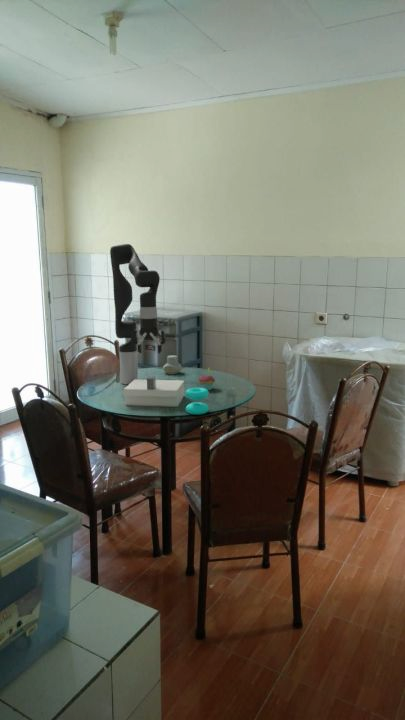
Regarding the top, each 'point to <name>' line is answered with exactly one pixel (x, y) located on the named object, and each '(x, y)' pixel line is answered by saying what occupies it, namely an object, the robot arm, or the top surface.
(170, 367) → the air freshener
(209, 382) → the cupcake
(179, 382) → the lid
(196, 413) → the donuts
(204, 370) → the top surface
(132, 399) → the mailer base
